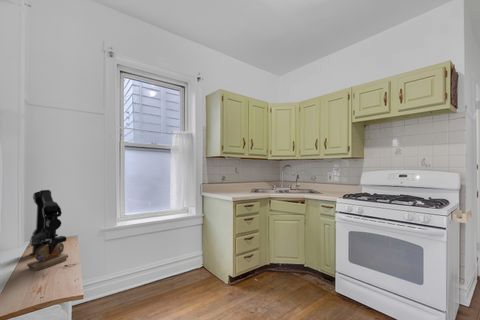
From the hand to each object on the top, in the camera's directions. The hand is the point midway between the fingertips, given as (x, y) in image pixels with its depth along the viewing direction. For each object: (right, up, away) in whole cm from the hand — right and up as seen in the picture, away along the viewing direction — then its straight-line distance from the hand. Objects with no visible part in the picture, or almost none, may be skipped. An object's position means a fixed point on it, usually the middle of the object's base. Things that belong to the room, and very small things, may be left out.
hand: (48, 253), depth 139 cm
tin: (0, -3, 0) cm, 3 cm away
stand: (0, -6, 0) cm, 6 cm away
